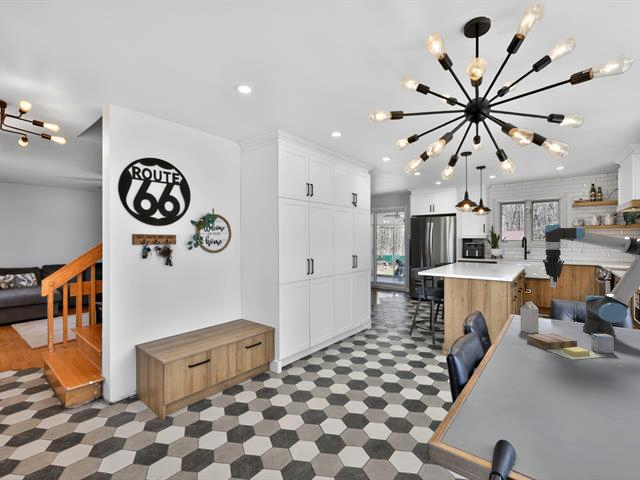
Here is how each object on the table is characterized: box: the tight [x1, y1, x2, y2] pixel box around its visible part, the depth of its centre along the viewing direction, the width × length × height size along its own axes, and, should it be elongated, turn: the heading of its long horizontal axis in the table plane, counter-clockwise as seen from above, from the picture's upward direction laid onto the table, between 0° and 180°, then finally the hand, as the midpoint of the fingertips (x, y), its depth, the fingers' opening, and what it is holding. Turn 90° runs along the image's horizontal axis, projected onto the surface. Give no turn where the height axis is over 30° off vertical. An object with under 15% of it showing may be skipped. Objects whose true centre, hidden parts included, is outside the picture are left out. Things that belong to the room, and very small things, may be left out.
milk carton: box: [519, 301, 540, 334], centre depth 201 cm, size 7×7×19 cm
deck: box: [526, 332, 578, 351], centre depth 175 cm, size 18×14×4 cm
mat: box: [546, 349, 607, 361], centre depth 161 cm, size 20×14×1 cm
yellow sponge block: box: [563, 346, 591, 356], centre depth 161 cm, size 9×6×2 cm, turn 99°
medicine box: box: [590, 334, 615, 354], centre depth 164 cm, size 8×4×9 cm, turn 84°
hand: (553, 287), depth 194 cm, fingers closed
